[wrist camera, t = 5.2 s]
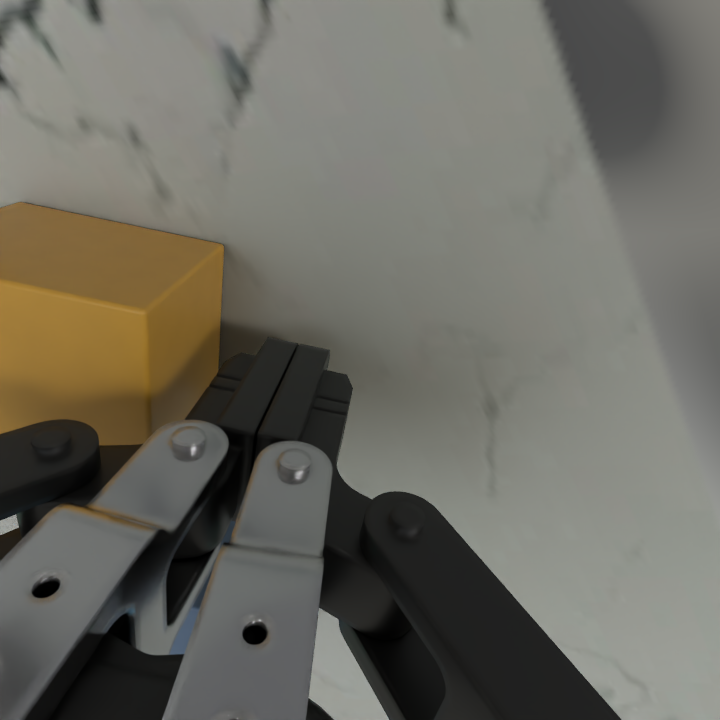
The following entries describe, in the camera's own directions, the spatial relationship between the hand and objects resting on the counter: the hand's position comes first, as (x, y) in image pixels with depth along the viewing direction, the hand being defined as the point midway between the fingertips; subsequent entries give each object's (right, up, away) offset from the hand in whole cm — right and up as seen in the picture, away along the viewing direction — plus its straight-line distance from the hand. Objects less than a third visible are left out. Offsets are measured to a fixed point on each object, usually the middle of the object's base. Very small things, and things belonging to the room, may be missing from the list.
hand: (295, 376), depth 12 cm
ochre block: (-5, +2, +1) cm, 5 cm away
